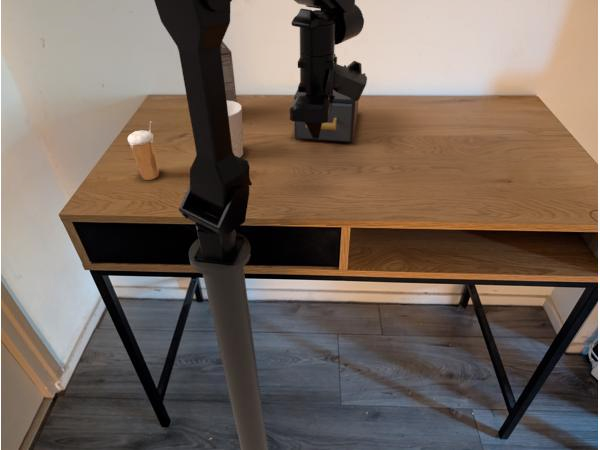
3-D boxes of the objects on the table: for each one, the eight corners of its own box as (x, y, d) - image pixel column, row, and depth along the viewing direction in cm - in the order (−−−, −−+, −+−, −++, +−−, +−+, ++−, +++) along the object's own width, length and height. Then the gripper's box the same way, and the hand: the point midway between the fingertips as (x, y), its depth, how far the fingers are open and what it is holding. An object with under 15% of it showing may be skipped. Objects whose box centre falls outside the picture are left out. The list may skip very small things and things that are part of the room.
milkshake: (170, 171, 85) (159, 124, 78) (150, 184, 81) (137, 136, 75) (154, 165, 86) (141, 118, 80) (133, 178, 83) (119, 130, 77)
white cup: (252, 157, 89) (248, 111, 82) (216, 167, 85) (209, 120, 79) (237, 141, 94) (232, 97, 88) (202, 151, 91) (194, 105, 85)
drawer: (347, 151, 88) (350, 115, 83) (293, 147, 90) (292, 111, 85) (354, 114, 102) (356, 82, 97) (306, 112, 103) (306, 79, 99)
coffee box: (205, 110, 107) (194, 42, 97) (230, 106, 109) (222, 39, 99) (212, 125, 100) (201, 54, 90) (239, 121, 102) (231, 50, 92)
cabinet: (352, 142, 93) (355, 99, 87) (295, 138, 95) (293, 96, 89) (357, 114, 104) (360, 74, 98) (305, 111, 106) (305, 72, 100)
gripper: (363, 72, 63) (355, 166, 73) (368, 37, 77) (362, 119, 87) (288, 69, 65) (290, 161, 74) (307, 35, 79) (307, 116, 89)
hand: (316, 137), depth 81 cm, fingers closed
